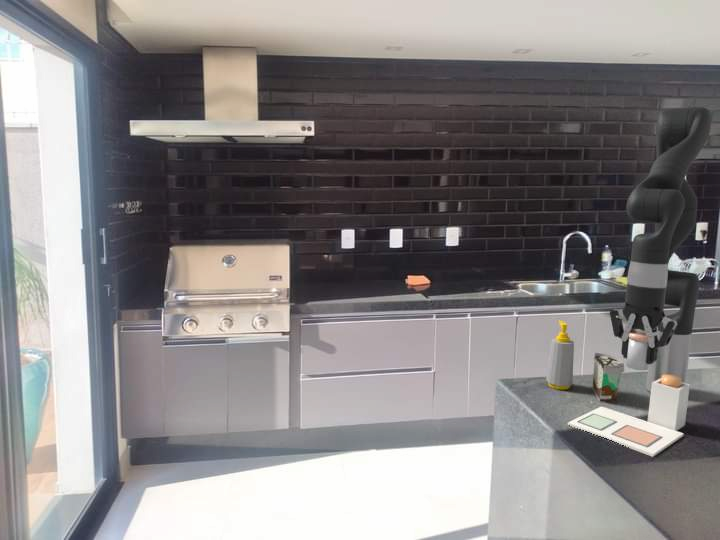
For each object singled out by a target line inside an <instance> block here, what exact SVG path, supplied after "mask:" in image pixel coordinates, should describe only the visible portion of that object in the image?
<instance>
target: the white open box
mask: <svg viewBox="0 0 720 540" xmlns="http://www.w3.org/2000/svg"><path fill="white" fill-rule="evenodd" d="M661 379H662V378H660V379H658V380H656V381H654V382H652V387H651V392H650V398H649V405H648V413H647V414H648V415H647V422H650V423H653V424H657V425H660V426H663V427H666V428H669V429H672V430H675V431H678V430H680V429H681V428H683V427H685V426H686V419H687V411H688V410H687V409H688V405H689V404H688V403H689V393H690V386H691V384H689V383H687V382H686V383H682V382H681V387H680V388H678V389H677V388H674V387H670V386H666V385H663V384H661Z"/></svg>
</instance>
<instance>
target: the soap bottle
mask: <svg viewBox="0 0 720 540" xmlns="http://www.w3.org/2000/svg"><path fill="white" fill-rule="evenodd" d="M557 322H558V323H559V326H560V327H561V328H560V329H561V331H560V332H559V333H558V335H557V336H556V337H555V338H552V339H551V343H550V349H549V350H550V351H549V358H548V364H547V373H546V379H545V380H546V382H547V384H548V386H549V387H550V388H551V389H555V390H562V391H563V390H564V391H566V390H569V389H570V388H571V386H572V385H573V383H574V380H573V379H574V352H575V342H574V340H571V338H570V337H569V333H567V332H566V331H567V328H568V326H569V324H568V323H566V322H564V321H563V320H558V321H557Z"/></svg>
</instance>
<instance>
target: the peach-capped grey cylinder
mask: <svg viewBox="0 0 720 540" xmlns="http://www.w3.org/2000/svg"><path fill="white" fill-rule="evenodd" d="M648 347H649V343H648V337H646V334H645V331H643V330H640V331H639V330H636V331H634V332H630V333H629V344H628V353H627V359H626V365H625V366H626V367H627V368H629V369H632V370H635V371H648V369H649V364H646V359H647V350H648Z"/></svg>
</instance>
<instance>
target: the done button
mask: <svg viewBox="0 0 720 540" xmlns="http://www.w3.org/2000/svg"><path fill="white" fill-rule="evenodd" d="M661 384H663V385H666V386H670V387H674V388H677V389H678V388H680V387H681V378H680V377H678V376H674V375H668V374H665V375H662V379H661Z"/></svg>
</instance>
